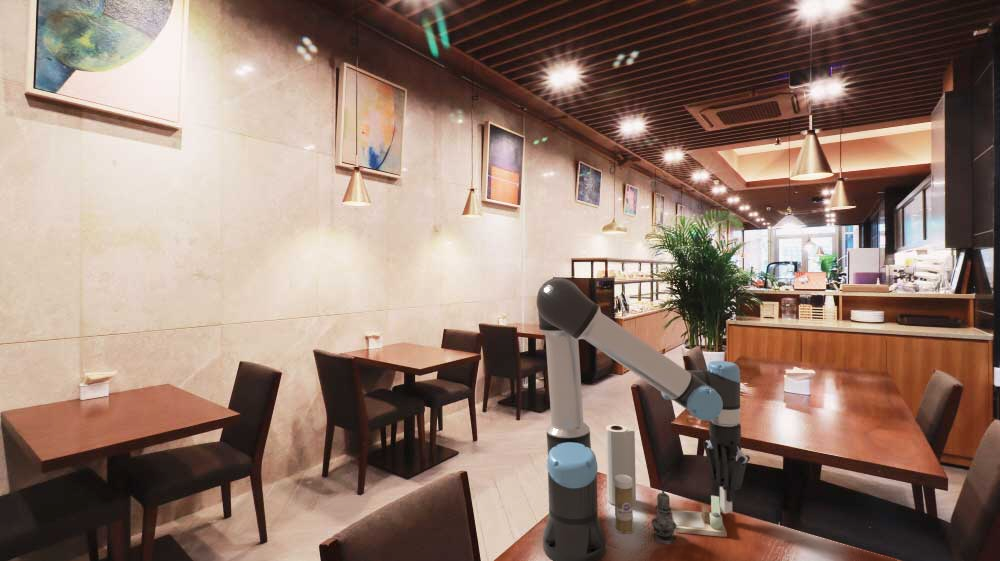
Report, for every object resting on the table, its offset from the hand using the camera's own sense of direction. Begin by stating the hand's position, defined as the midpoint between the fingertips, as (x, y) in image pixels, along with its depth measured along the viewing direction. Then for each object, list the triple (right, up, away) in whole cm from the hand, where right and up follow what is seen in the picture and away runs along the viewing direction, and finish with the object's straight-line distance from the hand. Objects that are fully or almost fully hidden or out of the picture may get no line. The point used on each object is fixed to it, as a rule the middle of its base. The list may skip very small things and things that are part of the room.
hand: (726, 511), depth 123 cm
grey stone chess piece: (-18, -4, -6) cm, 20 cm away
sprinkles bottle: (-27, -4, -2) cm, 27 cm away
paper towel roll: (-25, -3, +12) cm, 28 cm away
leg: (-3, -1, 0) cm, 3 cm away
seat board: (-8, -3, -1) cm, 8 cm away
